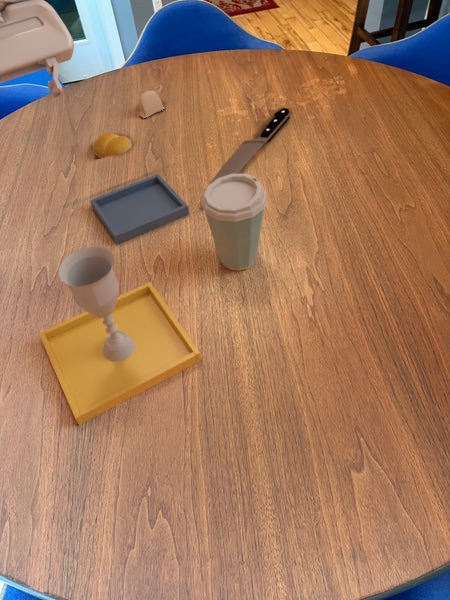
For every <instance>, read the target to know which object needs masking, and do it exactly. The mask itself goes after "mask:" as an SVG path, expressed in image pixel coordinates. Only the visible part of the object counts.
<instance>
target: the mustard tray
mask: <svg viewBox="0 0 450 600" xmlns="http://www.w3.org/2000/svg"><path fill="white" fill-rule="evenodd" d="M110 316H111V317H113V318H114V322H113V324H115V325H117V327H118V329H117V331H116V332H124V333H126V334H127V335H128V336H130V337H131V338H133V340H134V341H135V350H134V352H133V353H132V355H131V356H129V357H128V358H127V359H125V360H122V361H118V362H117V361H110V360H108V359H107V358H106V357H105V356H104V354H103V348H104V344H105V339H106V338H107V336H108V335H110V334H109V333H107V332H106V328H107V326H106V325H104V324H103V320H104V318H98V317H96V316H94V315H92V314H90V313H88V312H86V311H85V310H84V311H83V312H81V313H78V314H76V315H74V316H73V317H70V318H67V319H66V320H64V321H61V322H60V323H57V324H55V325H52V326H51V327H49V328H47V329H44V330H42V331H39V332H38V335H39V339H40V340H41V342H42V345H43V347H44V349H45V351H46V353H47V357H48V358H49V361H50V363H51V366H52V368H53V370H54V372H55V376H56V377H57V380H58V382H59V385H60V386H61V389H62V391H63V394H64V396H65V398H66V402H67V403H68V406H69V407H70V410H71V412H72V415H73V417H74V419H75V421H76V423H77V424H78V425H79V426H81V425H83V424H85V423H87V422H89V421H90V420H92V419H94V418H96V417H98V416H100V415H102V414H103V413H106V412H107V411H110V410H111V409H113V408H115V407H117V406H118V405H120V404H122V403H124V402H126V401H128V400H130V399H131V398H133V397H135V396H138V395H139V394H141V393H143V392H145V391H148V390H149V389H150V388H153V387H155V386H156V385H158V384H160V383H162V382H163V381H166V380H168V379H169V378H171V377H173V376H175V375H177V374H179V373H180V372H182V371H184V370H186V369H188V368H190V367H192V366H194V365H196V364H197V363H200V362H201V361H202V354H201V352H200V350H199V349H198V348H197V346H196V344H195V343H194V342H193V340H192V339H191V337H190V336H189V335H188V333H187V332H186V330H185V329H184V328H183V326H182V325H181V323H180V322H179V320H178V319H177V317H176V316H175V314H174V313H173V312H172V310H171V309H170V307H169V306H168V304H167V303H166V302H165V300H164V299H163V298H162V296H161V295H160V293H159V292H158V290H157V289H156V287H155V286H154V285H153V283H152V282H151V281H149V282H146V283H145V284H141V285H140V286H137V287H135V288H134V289H130V290H129V291H127V292H125V293H122V294H120V295H118V298H117V301H116V305H115V308H114V311H113V313H112V314H111V315H110Z"/></svg>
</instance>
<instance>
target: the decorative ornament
mask: <svg viewBox="0 0 450 600" xmlns="http://www.w3.org/2000/svg"><path fill="white" fill-rule="evenodd" d="M162 88H163V85H162V84H159V85H158V86H157V87H156V89H155V91H154V90H146V91H144V92H143V93H141V95H139V98H138V103H137V104H138V109H139V113H138V114H139V116H140V117H141V118H143V119H144V118H146V117H147V118H149V117H150V116H152V115H154V114H156V113H158V112H161V110H162V111H164V110H163V109H164V108H165V107H164V106H163V103H162V99H161V97H160V96H159V95H160V93H161V91H162ZM147 118H146V119H147Z"/></svg>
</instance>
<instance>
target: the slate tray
mask: <svg viewBox="0 0 450 600" xmlns="http://www.w3.org/2000/svg"><path fill="white" fill-rule="evenodd" d="M89 201H90V205H91V208H92V209H93V211H94V212H95V214H96V215H97V217H98V218H99V220H100V221H101V223H102V224H103V225H104V227H105V228H106V230H107V231H108V233H109V234H110V236H111V237H112V238H113V240H114V242H115V243H116V244H117V245H120V244H122V243H124V242H126V241H127V242H128V241H129V240H131V239H134V238H136V237H138V236H141V235H143V234H145V233H148V232H150V231H153V230H155V229H158V228H160V227H162V226H164V225H167V224H169V223H171V222H174V221H177V220H178V219H180V218H184V217H186V216H188V215H190V210H189V205H188V204H187V203H186V202H185V201H184V200H183V199H182V197H180V195H179V194H178V193H177V192H176V191H175V190H174V189H173V188H172V186H170V185H169V184H168V183H167V182H166V180H164V178H163V177H162V176H161V175H160V174H159V173H156V174H154V175H152V176H149V177H147V178H143V179H142V180H139V181H137V182H133V183H131V184H129V185H126V186H124V187H120V188H118V189H115V190H113V191H110V192H108V193H105V194H102V195H100V196H97V197H95V198H93V199H90V200H89Z"/></svg>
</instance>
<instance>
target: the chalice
mask: <svg viewBox="0 0 450 600" xmlns="http://www.w3.org/2000/svg"><path fill="white" fill-rule="evenodd" d="M114 264H115V257H114V255H113V253H112V251H110V250H109V249H108V248H106V247H101V246H87V247H83V248H80V249H78V250H75V251H73V252H72V253H71V254H69V255H68V256H67V257H66V258H65V259H64V260H63V261H62V262H61V264H60V266H59V268H58V276H59V279H60V281H61V282H62V283H64V284H65V285H67V286H68V289H69V290H70V293H71V296H72V297H73V300H74V302H75V303H76V305H77V306H79V307H80V308H81V309H82V310H84V312H85V311H86V312H88V313H90V314H92V315H94V316H96V317H98V318H104V320H103V324H104V325H106V326H107V328H106V332H107V333H109V334H110V335H108V336H107V338H106V339H105V344H104V348H103V354H104V356H105V357H106V358H107V359H108V360H110V361H117V362H118V361H122V360H125V359H127V358H128V357H129V356H131V355H132V353H133V352H134V350H135V341H134V340H133V338H131V337H130V336H128V335H127V334H126V333H124V332H116V331H117V329H118V327H117V325H115V324H113V322H114V318H113V317H111V316H110V315H111V314H112V313H113V311H114V308H115V305H116V301H117V298H118V296H119V290H120V289H119V287H120V285H119V281H118V278H117V276H116V273H115V270H114Z"/></svg>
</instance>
